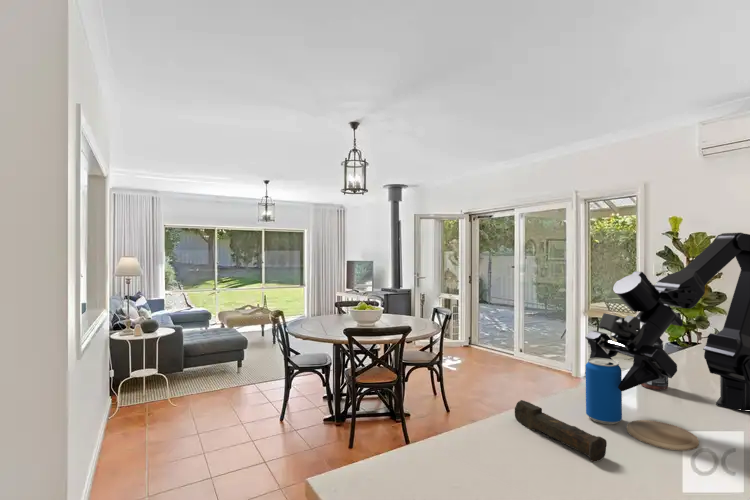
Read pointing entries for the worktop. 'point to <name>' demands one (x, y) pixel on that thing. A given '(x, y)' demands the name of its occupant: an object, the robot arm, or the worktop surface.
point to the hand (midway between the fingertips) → (602, 381)
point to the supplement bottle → (658, 383)
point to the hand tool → (560, 430)
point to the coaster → (662, 435)
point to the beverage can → (603, 390)
